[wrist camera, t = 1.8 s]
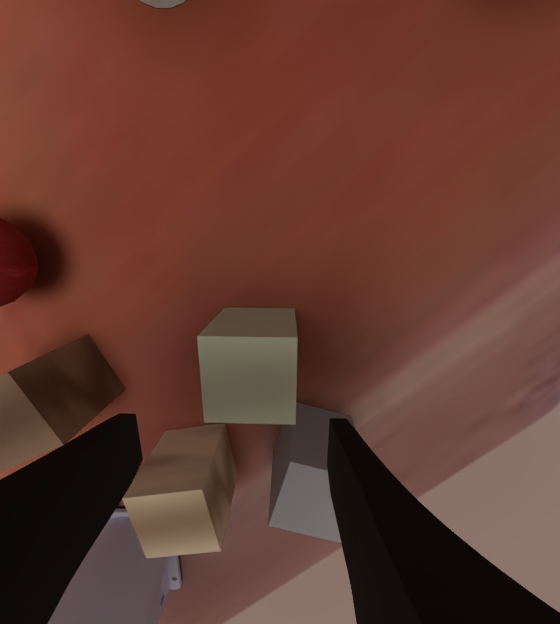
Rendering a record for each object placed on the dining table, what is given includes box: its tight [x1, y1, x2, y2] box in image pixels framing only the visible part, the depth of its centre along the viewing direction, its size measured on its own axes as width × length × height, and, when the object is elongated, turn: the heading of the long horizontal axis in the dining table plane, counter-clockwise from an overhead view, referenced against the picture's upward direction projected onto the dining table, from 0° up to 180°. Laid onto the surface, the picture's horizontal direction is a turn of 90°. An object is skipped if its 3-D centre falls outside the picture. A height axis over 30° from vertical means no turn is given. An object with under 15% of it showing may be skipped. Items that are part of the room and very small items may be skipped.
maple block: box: [122, 423, 238, 558], centre depth 19 cm, size 5×5×6 cm
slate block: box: [268, 402, 356, 543], centre depth 19 cm, size 5×5×6 cm
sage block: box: [197, 307, 298, 425], centre depth 17 cm, size 5×5×6 cm
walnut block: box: [0, 335, 125, 472], centre depth 18 cm, size 5×5×6 cm
